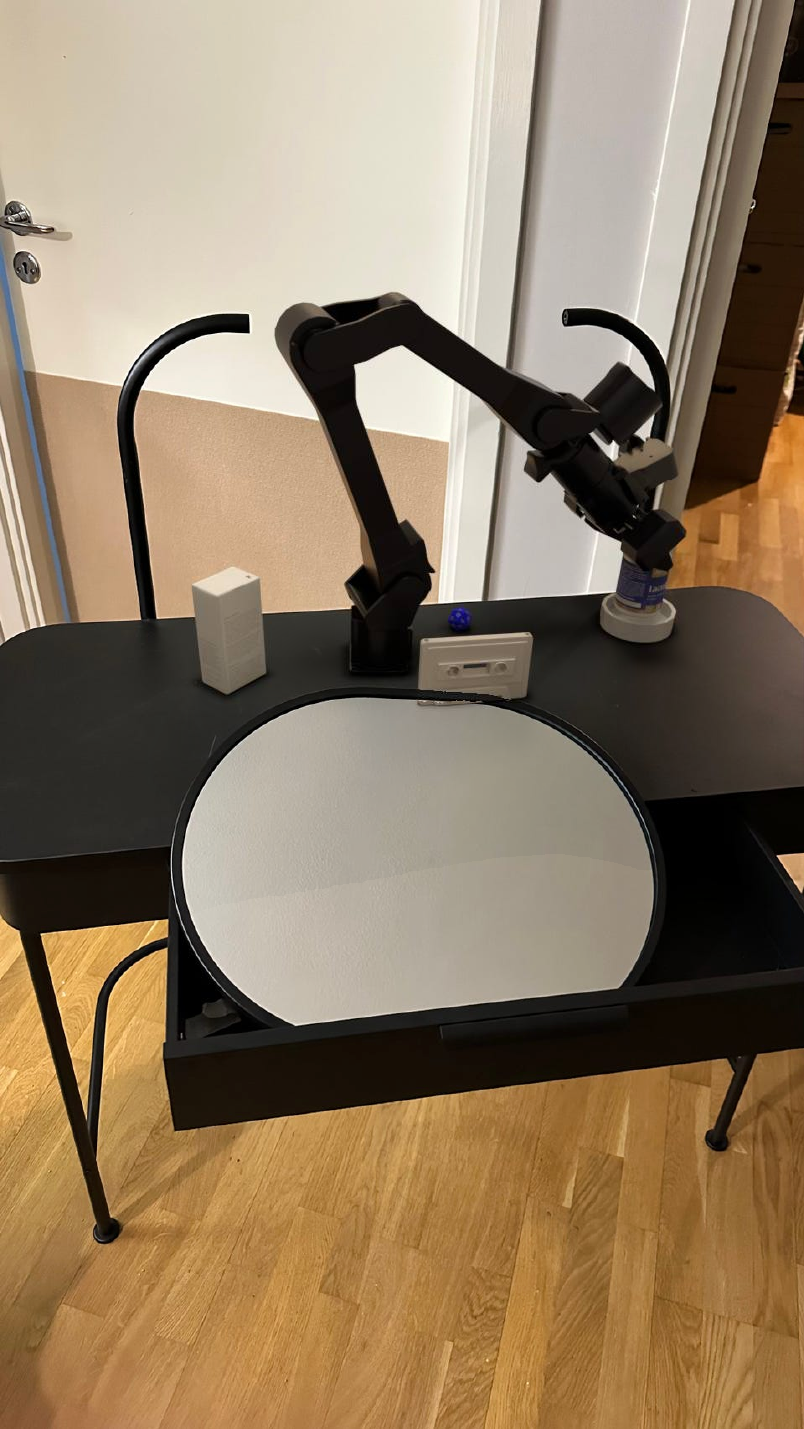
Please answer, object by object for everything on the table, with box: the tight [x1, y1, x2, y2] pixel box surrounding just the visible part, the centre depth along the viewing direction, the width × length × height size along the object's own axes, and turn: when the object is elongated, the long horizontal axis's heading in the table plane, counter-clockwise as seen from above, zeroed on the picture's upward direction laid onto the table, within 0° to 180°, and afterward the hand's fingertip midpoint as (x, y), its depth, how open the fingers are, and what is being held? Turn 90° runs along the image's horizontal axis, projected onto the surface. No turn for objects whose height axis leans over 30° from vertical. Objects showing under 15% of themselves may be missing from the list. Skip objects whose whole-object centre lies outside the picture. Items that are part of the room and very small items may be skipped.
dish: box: [599, 592, 677, 644], centre depth 121 cm, size 9×9×2 cm
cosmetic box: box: [191, 566, 267, 695], centre depth 105 cm, size 6×4×12 cm
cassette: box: [417, 631, 534, 706], centre depth 104 cm, size 12×2×8 cm, turn 100°
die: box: [447, 606, 473, 632], centre depth 119 cm, size 3×3×3 cm
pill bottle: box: [614, 552, 673, 618], centre depth 117 cm, size 6×6×10 cm
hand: (656, 557), depth 117 cm, fingers closed on pill bottle, 6 cm apart
